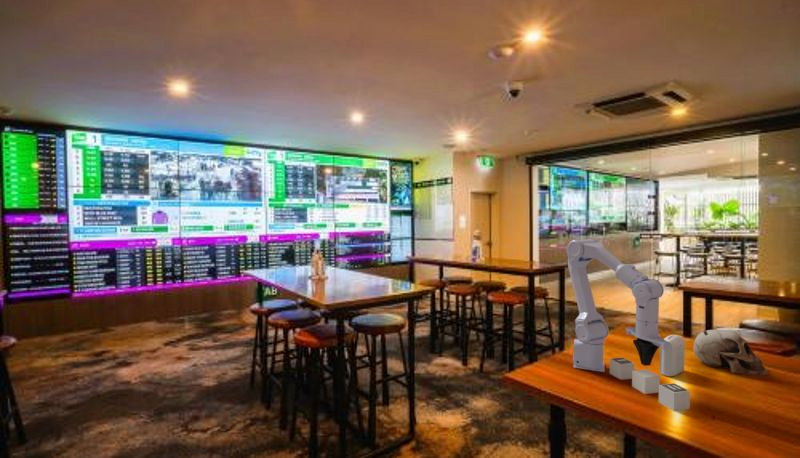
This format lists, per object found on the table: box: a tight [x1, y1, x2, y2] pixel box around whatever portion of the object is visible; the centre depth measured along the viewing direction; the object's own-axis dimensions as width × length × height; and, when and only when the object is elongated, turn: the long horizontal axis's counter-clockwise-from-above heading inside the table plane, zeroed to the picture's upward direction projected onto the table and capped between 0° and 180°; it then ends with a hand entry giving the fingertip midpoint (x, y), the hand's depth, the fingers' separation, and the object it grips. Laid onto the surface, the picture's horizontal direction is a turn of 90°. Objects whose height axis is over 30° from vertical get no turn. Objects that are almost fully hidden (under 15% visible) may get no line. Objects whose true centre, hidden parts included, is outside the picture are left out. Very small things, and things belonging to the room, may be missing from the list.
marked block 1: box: [609, 357, 635, 380], centre depth 130 cm, size 5×5×5 cm
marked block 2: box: [658, 383, 691, 412], centre depth 110 cm, size 5×5×5 cm
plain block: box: [631, 369, 661, 395], centre depth 120 cm, size 5×5×5 cm
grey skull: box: [692, 329, 770, 377], centre depth 136 cm, size 16×17×13 cm
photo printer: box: [659, 334, 686, 377], centre depth 132 cm, size 10×4×12 cm, turn 123°
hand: (645, 364), depth 120 cm, fingers closed
